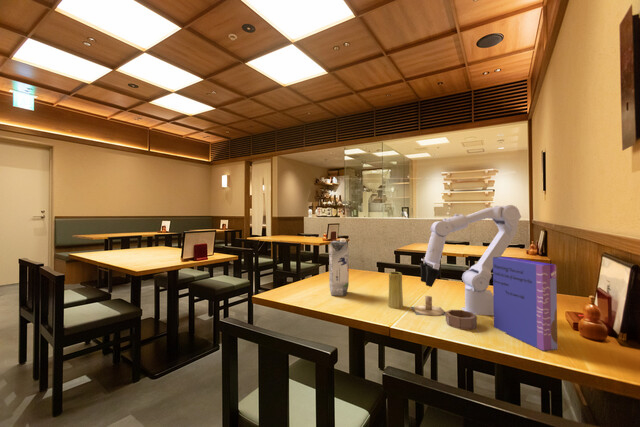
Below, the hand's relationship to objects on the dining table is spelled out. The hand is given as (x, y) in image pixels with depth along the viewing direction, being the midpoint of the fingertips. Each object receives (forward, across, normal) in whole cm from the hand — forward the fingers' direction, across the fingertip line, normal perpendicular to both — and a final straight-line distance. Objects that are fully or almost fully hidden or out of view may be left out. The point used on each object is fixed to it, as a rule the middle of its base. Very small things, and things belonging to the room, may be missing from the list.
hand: (425, 283), depth 115 cm
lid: (+10, 0, +4) cm, 11 cm away
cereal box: (+5, +23, +25) cm, 34 cm away
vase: (+14, -5, -8) cm, 16 cm away
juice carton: (+20, -25, -31) cm, 44 cm away
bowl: (+9, +14, +10) cm, 20 cm away
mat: (+10, 0, +4) cm, 11 cm away
